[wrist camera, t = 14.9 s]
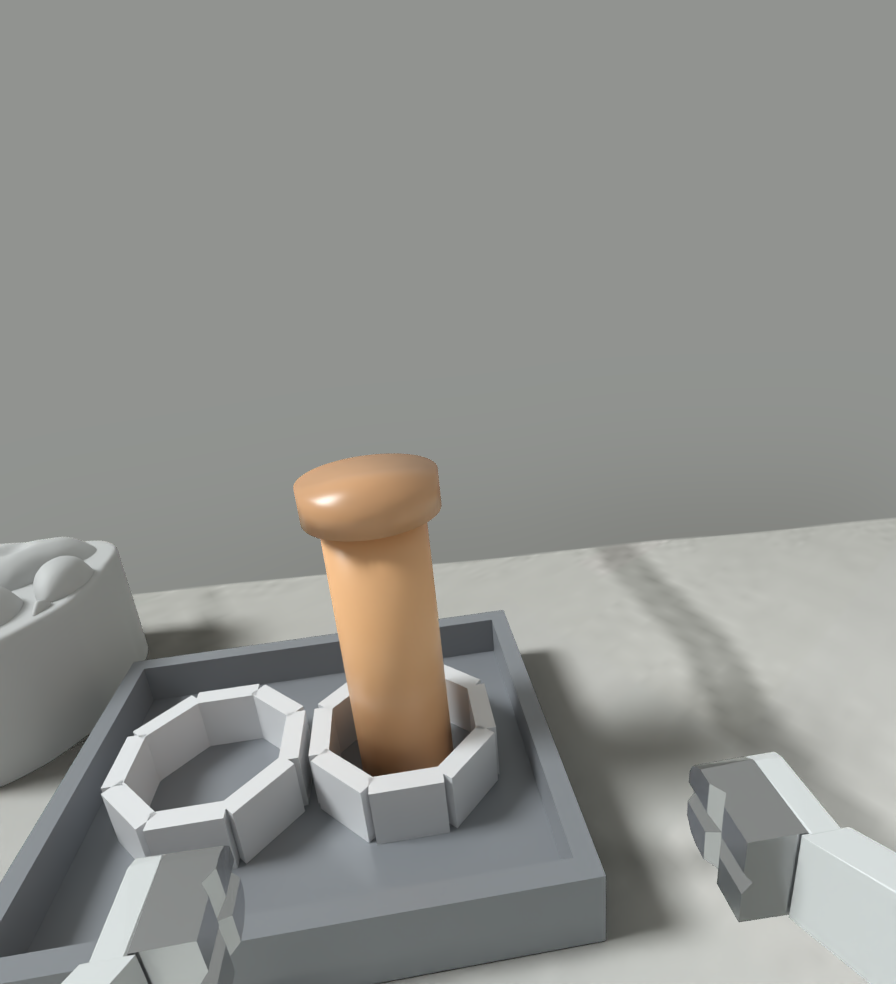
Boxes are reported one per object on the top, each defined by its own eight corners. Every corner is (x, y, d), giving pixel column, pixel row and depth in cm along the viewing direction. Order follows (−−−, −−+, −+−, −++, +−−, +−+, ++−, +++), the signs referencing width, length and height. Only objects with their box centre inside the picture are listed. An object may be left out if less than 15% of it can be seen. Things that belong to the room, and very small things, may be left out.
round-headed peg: (384, 712, 30) (342, 451, 25) (484, 734, 28) (459, 455, 23) (326, 794, 26) (262, 497, 21) (440, 828, 24) (397, 507, 19)
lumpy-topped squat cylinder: (165, 631, 41) (130, 512, 38) (73, 784, 29) (11, 627, 26) (5, 651, 40) (-44, 532, 37) (-158, 816, 28) (-249, 660, 25)
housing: (605, 940, 20) (606, 864, 19) (-31, 1059, 19) (-75, 984, 17) (506, 655, 35) (502, 602, 34) (148, 707, 34) (131, 653, 32)
